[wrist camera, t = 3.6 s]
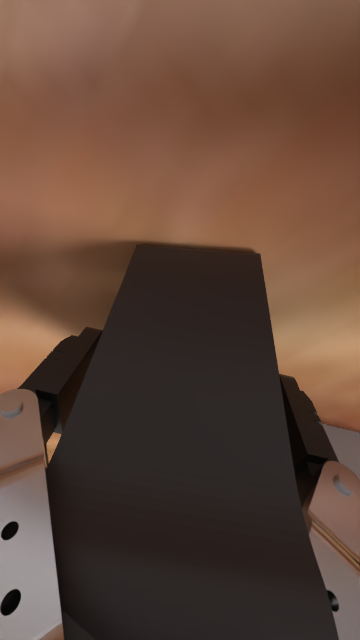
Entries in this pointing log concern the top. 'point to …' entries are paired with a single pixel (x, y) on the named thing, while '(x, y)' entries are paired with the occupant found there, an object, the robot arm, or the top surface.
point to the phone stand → (184, 466)
